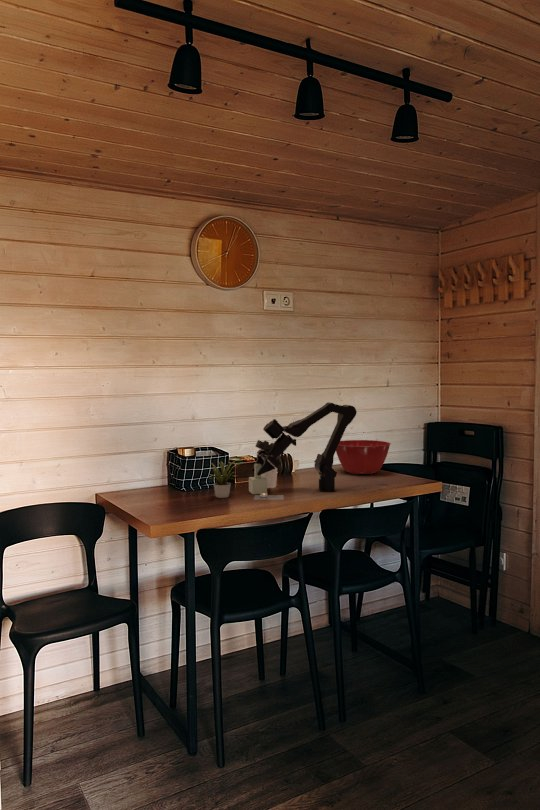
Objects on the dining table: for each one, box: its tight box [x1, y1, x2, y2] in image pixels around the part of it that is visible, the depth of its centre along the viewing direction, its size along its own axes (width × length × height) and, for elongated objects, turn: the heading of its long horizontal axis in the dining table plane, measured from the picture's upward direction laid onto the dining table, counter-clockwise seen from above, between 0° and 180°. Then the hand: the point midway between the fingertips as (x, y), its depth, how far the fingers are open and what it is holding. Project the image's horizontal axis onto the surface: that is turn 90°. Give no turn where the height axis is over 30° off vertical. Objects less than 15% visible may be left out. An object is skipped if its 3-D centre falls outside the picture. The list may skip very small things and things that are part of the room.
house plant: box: [208, 461, 241, 499], centre depth 262 cm, size 14×14×16 cm
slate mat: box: [253, 494, 285, 501], centre depth 260 cm, size 12×9×1 cm
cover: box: [248, 463, 268, 495], centre depth 270 cm, size 6×6×13 cm
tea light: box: [259, 492, 269, 498], centre depth 259 cm, size 3×3×2 cm
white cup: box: [261, 467, 278, 489], centre depth 286 cm, size 8×8×10 cm
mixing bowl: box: [335, 439, 391, 475], centre depth 321 cm, size 28×28×15 cm
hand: (254, 473), depth 269 cm, fingers open, 9 cm apart
